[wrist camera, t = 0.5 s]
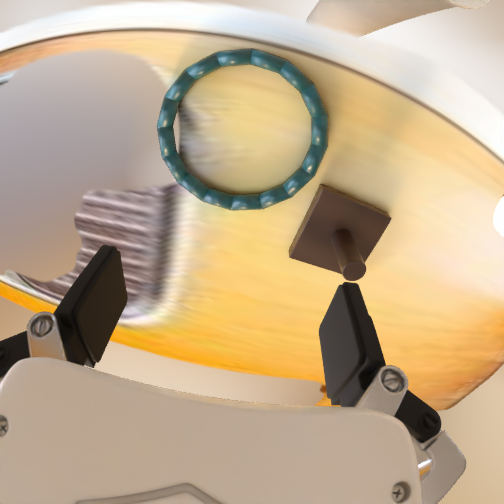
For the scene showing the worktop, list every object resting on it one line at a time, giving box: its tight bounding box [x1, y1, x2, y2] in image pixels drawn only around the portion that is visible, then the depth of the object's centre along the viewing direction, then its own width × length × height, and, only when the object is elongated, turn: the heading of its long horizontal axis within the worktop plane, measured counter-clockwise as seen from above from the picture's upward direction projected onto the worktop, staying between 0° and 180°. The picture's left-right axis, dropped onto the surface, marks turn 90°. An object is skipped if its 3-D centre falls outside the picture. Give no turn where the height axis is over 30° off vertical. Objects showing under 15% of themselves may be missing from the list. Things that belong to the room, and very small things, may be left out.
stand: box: [289, 184, 391, 281], centre depth 28 cm, size 9×9×8 cm
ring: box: [157, 49, 328, 210], centre depth 25 cm, size 17×17×2 cm
